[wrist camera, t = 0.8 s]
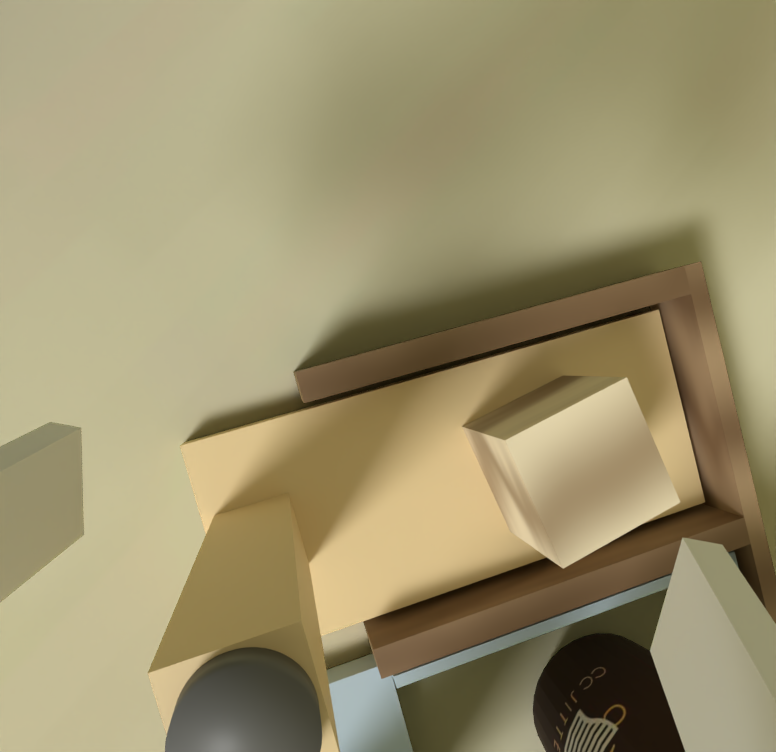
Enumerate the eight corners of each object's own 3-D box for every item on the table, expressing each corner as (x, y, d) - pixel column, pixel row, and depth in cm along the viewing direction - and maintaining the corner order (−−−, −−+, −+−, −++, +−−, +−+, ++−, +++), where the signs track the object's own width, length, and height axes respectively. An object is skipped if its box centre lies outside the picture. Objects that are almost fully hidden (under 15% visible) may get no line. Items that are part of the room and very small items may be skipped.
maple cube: (462, 426, 26) (504, 440, 21) (562, 375, 27) (626, 377, 22) (510, 531, 27) (563, 568, 22) (607, 478, 27) (680, 502, 22)
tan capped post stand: (184, 442, 25) (59, 543, 11) (643, 311, 29) (1017, 255, 14) (245, 649, 26) (204, 1013, 11) (688, 496, 29) (1092, 623, 15)
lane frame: (293, 371, 26) (295, 372, 23) (657, 272, 29) (701, 261, 26) (458, 960, 28) (480, 1031, 25) (787, 810, 31) (842, 858, 28)
